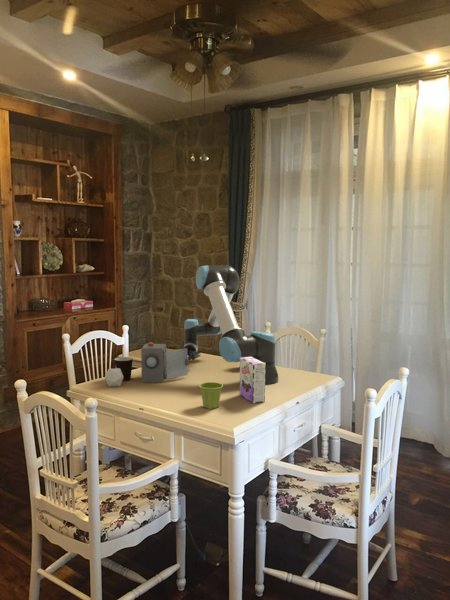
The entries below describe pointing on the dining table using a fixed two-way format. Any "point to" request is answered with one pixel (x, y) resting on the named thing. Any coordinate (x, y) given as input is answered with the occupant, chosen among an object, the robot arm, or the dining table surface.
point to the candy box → (252, 379)
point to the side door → (175, 363)
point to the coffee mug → (124, 366)
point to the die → (114, 377)
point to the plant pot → (211, 394)
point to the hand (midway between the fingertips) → (185, 360)
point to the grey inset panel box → (152, 362)
